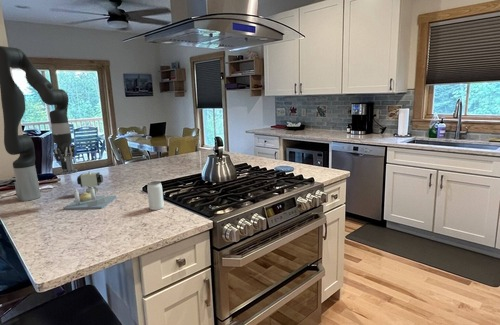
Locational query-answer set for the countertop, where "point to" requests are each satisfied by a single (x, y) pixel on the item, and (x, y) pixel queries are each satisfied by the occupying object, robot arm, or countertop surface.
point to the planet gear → (68, 167)
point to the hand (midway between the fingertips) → (67, 167)
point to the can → (155, 195)
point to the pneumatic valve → (90, 181)
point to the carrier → (89, 201)
